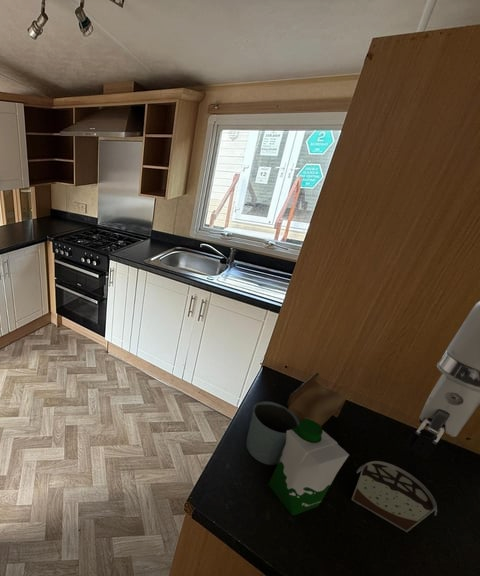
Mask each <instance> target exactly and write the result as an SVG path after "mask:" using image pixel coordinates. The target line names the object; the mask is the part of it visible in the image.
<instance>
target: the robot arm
mask: <svg viewBox="0 0 480 576" xmlns="http://www.w3.org/2000/svg"><path fill="white" fill-rule="evenodd" d="M436 368H437V370H439V372H440V373H442V374H441V376H440V377H439V378H438V380H437V381H436V383H435V385H434V386H433V388H432V390H431V392H430V394H429V395H428V398H427V399H426V401H425V403H424V406H423V408H422V410H421V412H420V415H419V423H420V425H419V427H418V428H417V430H415V429H414V430H413V432H412V433H411V434H410V436H409V437H408V439H407V440H406V442H405V443H404V447H405V448H407V449H408V450H410V451H412V452H413V453H415V454H417V455H418V456H421V457H422V458H424V459H429V457H430V456H431V455H432V453H433V452H434V451H435V449H436V448H437V447H438V445H439V441H440V439H441V438H442V436H443V435H444V433H445V434H446V435H449V436H450V437H452V438H454V437H458V435H459V434H460V432H461V431H462V429H463V428H464V426H466V423H467V422H468V421H469V420H470V418H471V417H472V415H473V414H474V413H475V412H476V410H477V409H478V407H479V406H480V300H479V301H478V302H476V303H475V305H474V306H473V307H472V308H471V310H470V312H469V313H468V315H467V316H466V318H465V319H464V321H463V322H462V325H461V326H460V327H459V329H458V330H457V332H456V334H455V335H454V337H453V338H452V340H451V342H450V343H449V345H448V346H447V348H446V349H445V351H444V352H443V354H442V355H441V357H440V358H439V360H438V362H437V363H436Z"/></svg>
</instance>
